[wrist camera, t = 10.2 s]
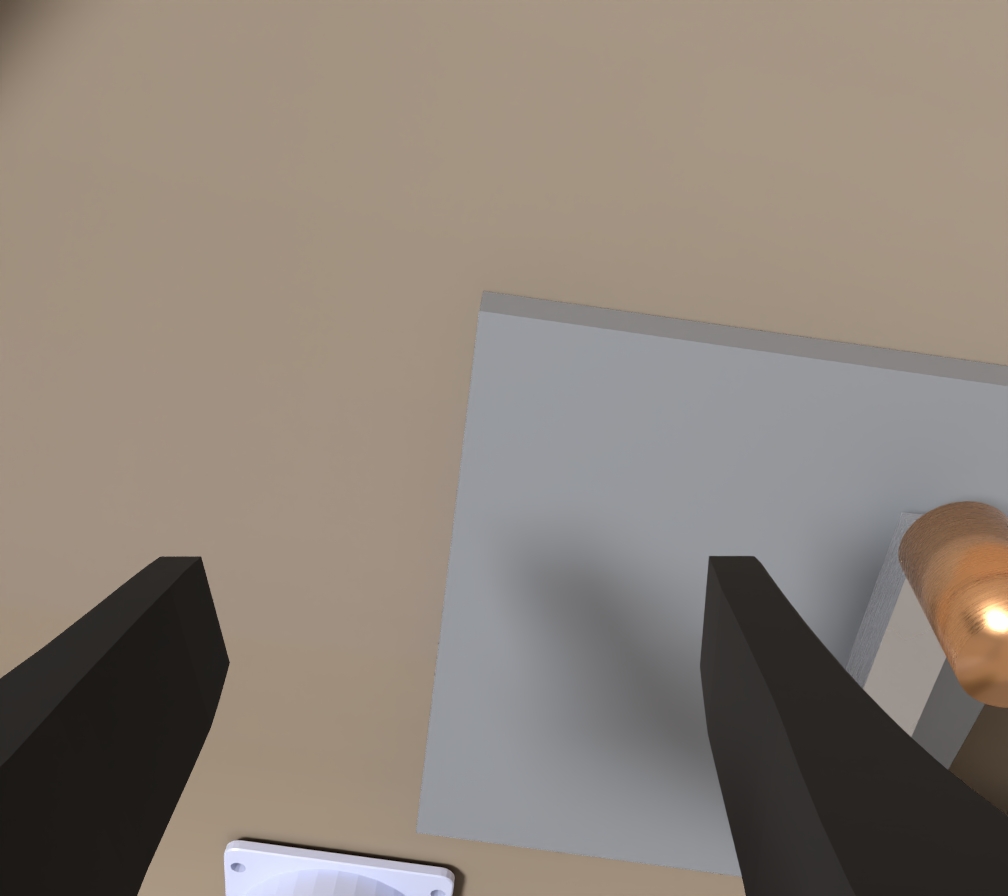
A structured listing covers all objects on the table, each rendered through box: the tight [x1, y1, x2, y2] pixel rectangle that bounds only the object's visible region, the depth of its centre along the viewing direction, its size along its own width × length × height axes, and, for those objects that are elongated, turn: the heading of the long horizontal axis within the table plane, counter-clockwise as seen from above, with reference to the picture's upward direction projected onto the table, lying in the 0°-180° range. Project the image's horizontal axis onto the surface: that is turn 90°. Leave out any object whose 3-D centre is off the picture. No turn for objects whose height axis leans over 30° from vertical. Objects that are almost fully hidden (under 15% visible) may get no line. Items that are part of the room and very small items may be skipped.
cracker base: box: [416, 291, 1008, 877], centre depth 24 cm, size 18×20×4 cm
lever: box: [845, 501, 1008, 736], centre depth 22 cm, size 15×3×5 cm, turn 176°
